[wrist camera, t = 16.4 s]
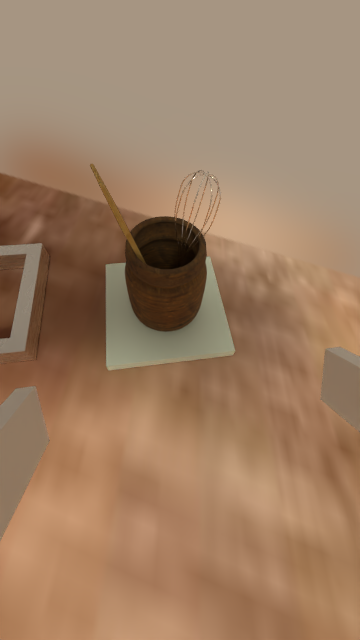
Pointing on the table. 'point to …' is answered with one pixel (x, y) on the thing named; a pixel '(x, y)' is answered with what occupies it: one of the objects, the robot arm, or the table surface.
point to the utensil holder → (164, 265)
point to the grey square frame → (25, 300)
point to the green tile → (157, 346)
